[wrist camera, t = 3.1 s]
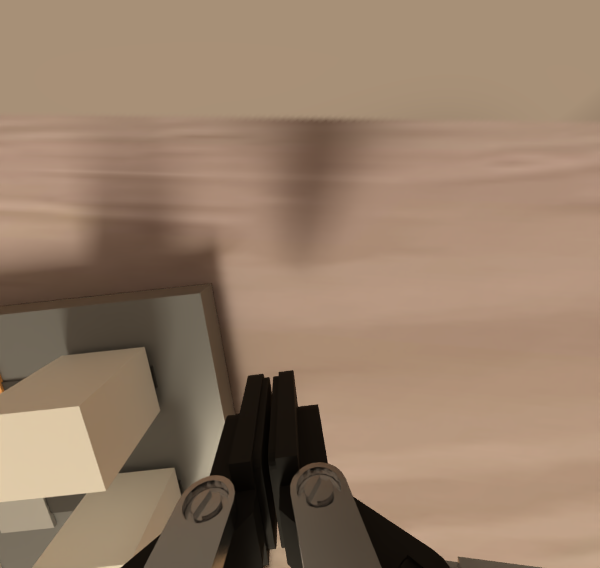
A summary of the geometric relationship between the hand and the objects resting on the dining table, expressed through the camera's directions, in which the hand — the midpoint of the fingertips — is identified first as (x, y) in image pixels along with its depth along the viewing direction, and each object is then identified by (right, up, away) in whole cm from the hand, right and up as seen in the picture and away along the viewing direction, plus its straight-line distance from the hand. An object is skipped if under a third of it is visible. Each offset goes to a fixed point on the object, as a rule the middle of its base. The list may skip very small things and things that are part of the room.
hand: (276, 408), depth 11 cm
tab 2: (-8, -7, +6) cm, 12 cm away
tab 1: (-8, 0, +4) cm, 9 cm away
